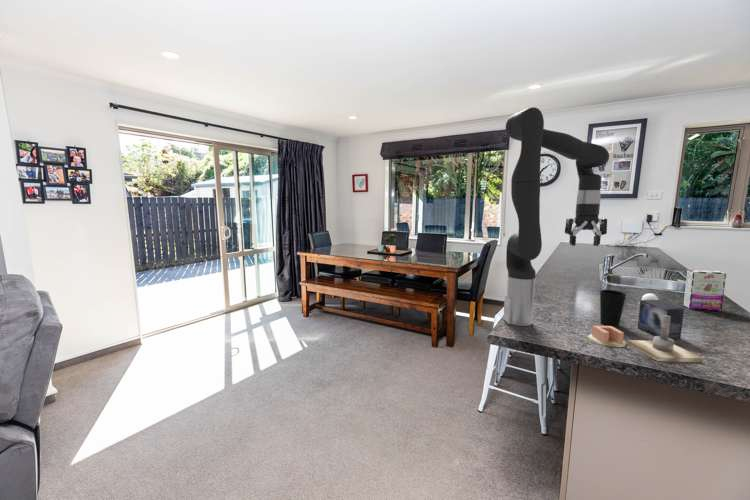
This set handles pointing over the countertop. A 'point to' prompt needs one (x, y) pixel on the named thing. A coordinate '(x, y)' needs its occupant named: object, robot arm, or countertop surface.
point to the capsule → (649, 297)
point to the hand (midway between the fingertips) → (584, 245)
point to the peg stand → (664, 347)
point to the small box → (660, 317)
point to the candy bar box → (704, 289)
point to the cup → (611, 307)
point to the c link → (607, 334)
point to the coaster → (610, 343)
